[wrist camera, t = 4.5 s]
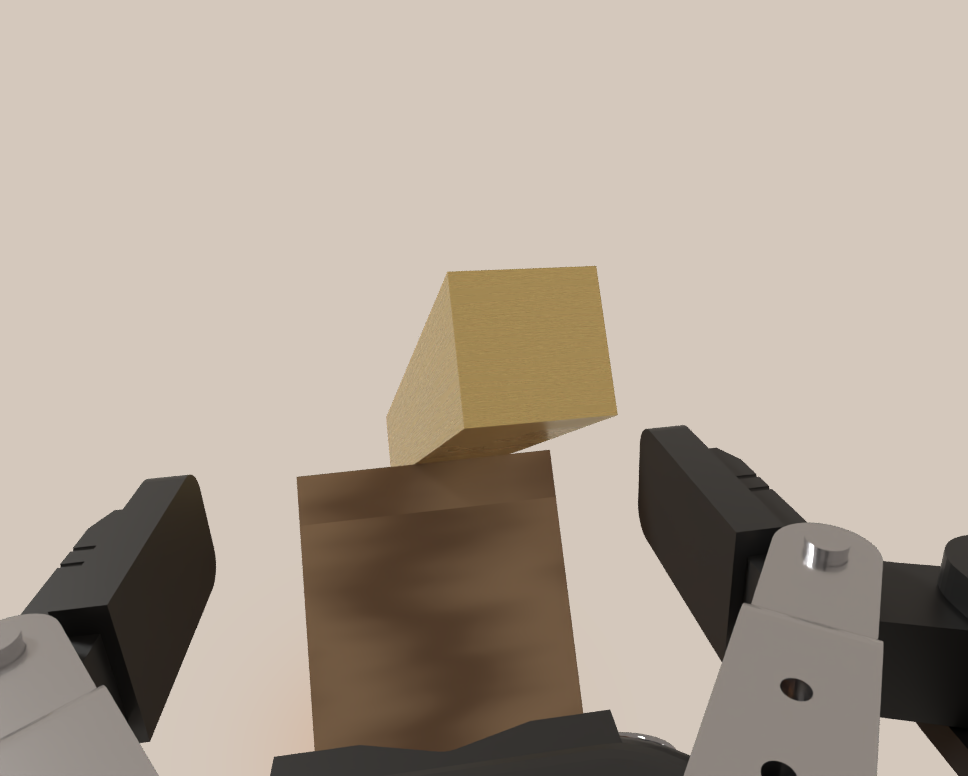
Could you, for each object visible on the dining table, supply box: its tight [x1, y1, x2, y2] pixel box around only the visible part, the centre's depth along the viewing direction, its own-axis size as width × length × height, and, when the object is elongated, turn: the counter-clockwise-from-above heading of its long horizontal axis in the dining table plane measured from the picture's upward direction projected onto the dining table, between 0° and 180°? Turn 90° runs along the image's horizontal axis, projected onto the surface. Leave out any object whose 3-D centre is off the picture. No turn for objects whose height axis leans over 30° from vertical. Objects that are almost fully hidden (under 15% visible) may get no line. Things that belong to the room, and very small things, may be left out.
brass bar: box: [386, 266, 618, 467], centre depth 22 cm, size 3×20×3 cm, turn 11°
